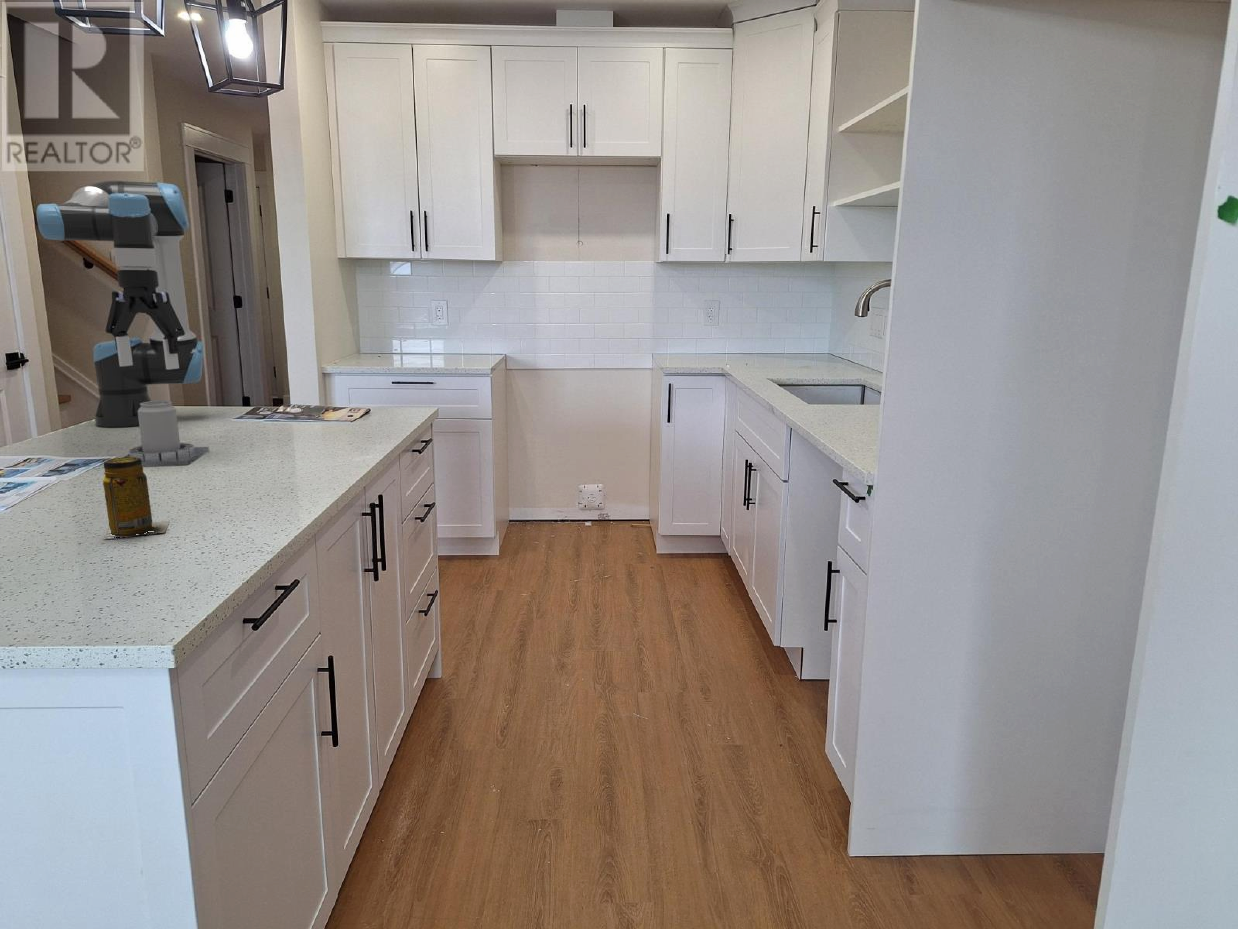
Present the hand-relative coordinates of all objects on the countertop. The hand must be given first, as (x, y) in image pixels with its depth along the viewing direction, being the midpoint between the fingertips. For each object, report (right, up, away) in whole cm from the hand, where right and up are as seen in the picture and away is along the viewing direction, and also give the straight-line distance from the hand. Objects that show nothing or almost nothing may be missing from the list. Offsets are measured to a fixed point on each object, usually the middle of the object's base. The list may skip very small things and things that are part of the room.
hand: (149, 367), depth 178 cm
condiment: (+26, -33, -47) cm, 63 cm away
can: (+1, -19, +4) cm, 20 cm away
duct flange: (+1, -20, +4) cm, 21 cm away
